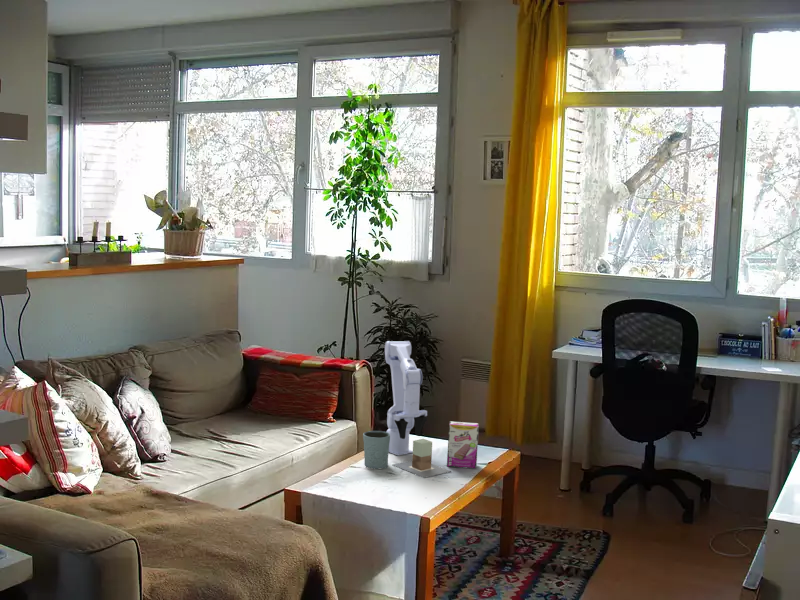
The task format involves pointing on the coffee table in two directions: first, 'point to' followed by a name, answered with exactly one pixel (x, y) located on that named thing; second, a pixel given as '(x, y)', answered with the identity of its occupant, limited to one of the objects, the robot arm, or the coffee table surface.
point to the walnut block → (421, 462)
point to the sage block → (422, 447)
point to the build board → (423, 473)
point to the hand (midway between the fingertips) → (410, 436)
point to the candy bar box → (462, 444)
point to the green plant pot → (376, 449)
